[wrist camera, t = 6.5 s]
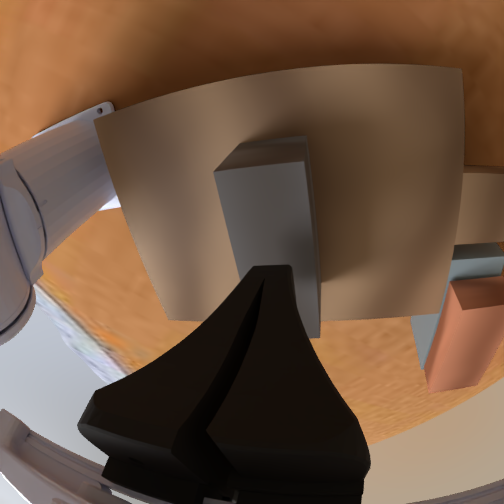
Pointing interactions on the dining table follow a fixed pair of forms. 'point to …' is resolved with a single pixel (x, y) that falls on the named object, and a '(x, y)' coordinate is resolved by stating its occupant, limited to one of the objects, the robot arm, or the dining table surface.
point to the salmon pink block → (466, 334)
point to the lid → (304, 188)
